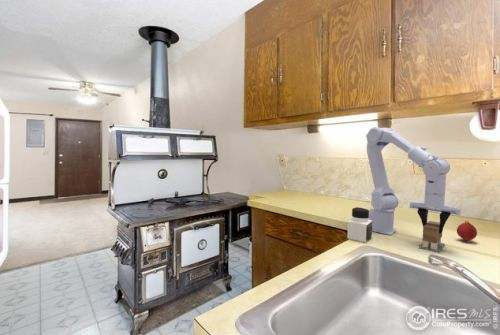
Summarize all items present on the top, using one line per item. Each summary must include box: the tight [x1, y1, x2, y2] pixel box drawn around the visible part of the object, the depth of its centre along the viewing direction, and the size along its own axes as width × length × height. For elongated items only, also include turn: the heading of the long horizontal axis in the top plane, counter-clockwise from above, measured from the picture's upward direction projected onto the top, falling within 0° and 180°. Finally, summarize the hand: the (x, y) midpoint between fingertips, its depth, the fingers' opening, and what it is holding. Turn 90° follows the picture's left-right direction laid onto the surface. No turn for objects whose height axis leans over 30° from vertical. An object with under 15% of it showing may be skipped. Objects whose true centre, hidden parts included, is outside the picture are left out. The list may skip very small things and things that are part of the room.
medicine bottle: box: [347, 206, 373, 244], centre depth 98 cm, size 7×7×12 cm
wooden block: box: [422, 220, 443, 244], centre depth 90 cm, size 10×4×5 cm, turn 134°
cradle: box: [418, 237, 446, 254], centre depth 90 cm, size 10×6×3 cm, turn 134°
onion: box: [456, 220, 478, 242], centre depth 95 cm, size 6×6×8 cm
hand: (432, 231), depth 90 cm, fingers closed on wooden block, 4 cm apart
